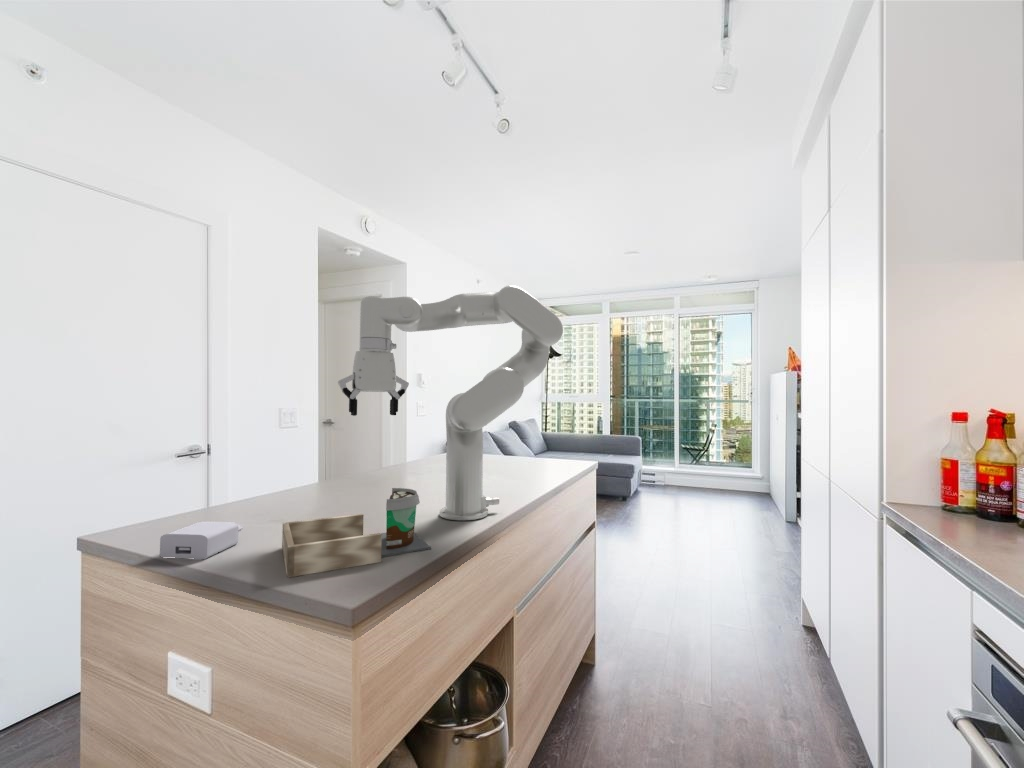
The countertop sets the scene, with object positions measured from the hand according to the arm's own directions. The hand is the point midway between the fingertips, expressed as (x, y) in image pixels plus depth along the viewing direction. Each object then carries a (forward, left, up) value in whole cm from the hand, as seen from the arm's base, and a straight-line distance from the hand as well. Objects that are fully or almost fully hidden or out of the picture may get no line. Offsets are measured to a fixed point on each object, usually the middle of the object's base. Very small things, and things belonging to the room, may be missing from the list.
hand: (373, 415), depth 113 cm
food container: (-2, +22, -26) cm, 34 cm away
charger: (+33, +5, -26) cm, 42 cm away
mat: (-1, +21, -26) cm, 33 cm away
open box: (+13, +22, -26) cm, 36 cm away
